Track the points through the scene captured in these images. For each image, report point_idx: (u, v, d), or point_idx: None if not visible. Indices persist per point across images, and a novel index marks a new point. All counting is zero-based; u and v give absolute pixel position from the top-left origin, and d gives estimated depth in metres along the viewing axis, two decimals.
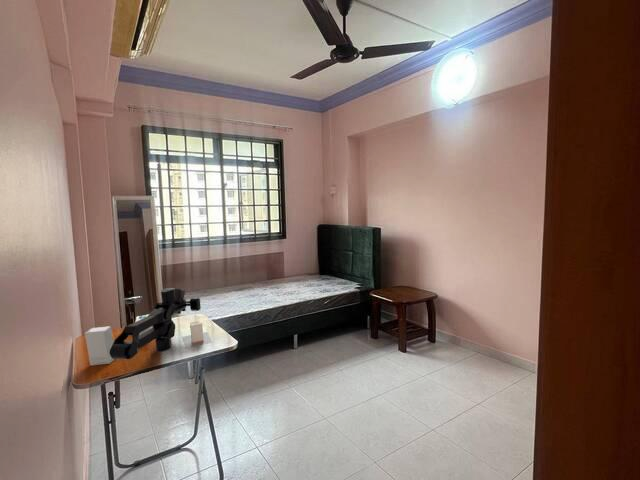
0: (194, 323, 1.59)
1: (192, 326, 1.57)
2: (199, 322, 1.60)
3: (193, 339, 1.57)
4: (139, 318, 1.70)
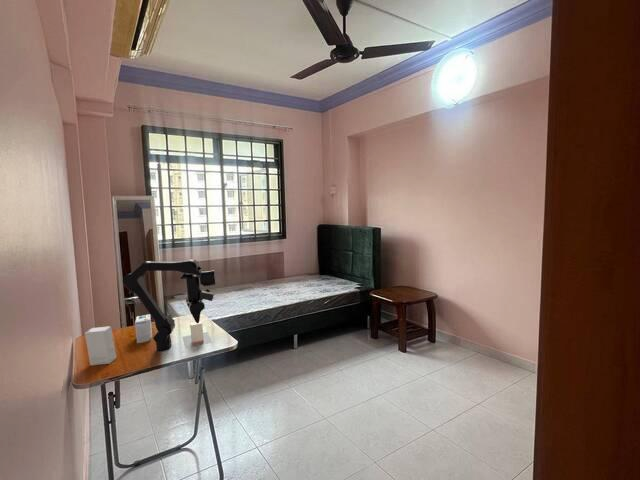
0: (194, 323, 1.59)
1: (192, 326, 1.57)
2: (199, 322, 1.60)
3: (193, 339, 1.57)
4: (139, 318, 1.70)
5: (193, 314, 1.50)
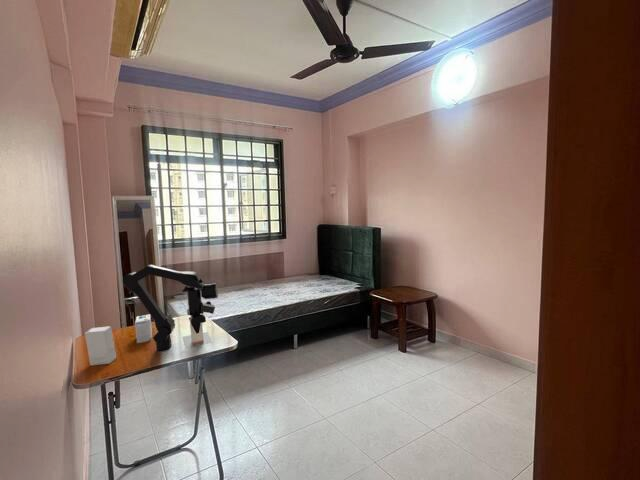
0: None
1: (192, 326, 1.57)
2: None
3: (193, 339, 1.57)
4: (139, 318, 1.70)
5: (193, 325, 1.53)
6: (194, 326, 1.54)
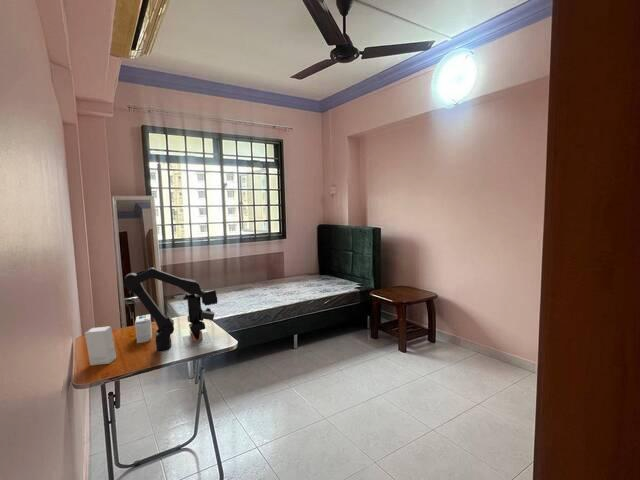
0: None
1: None
2: None
3: None
4: (139, 318, 1.70)
5: (193, 331, 1.57)
6: (194, 333, 1.58)
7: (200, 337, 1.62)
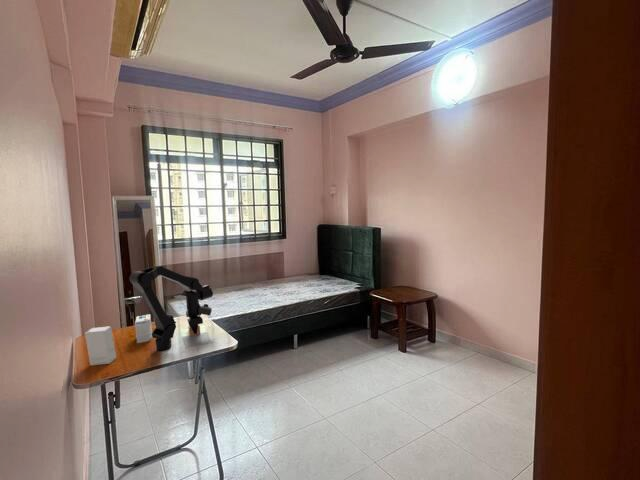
0: None
1: None
2: None
3: None
4: (139, 318, 1.70)
5: (191, 326, 1.65)
6: (192, 327, 1.65)
7: (198, 332, 1.70)
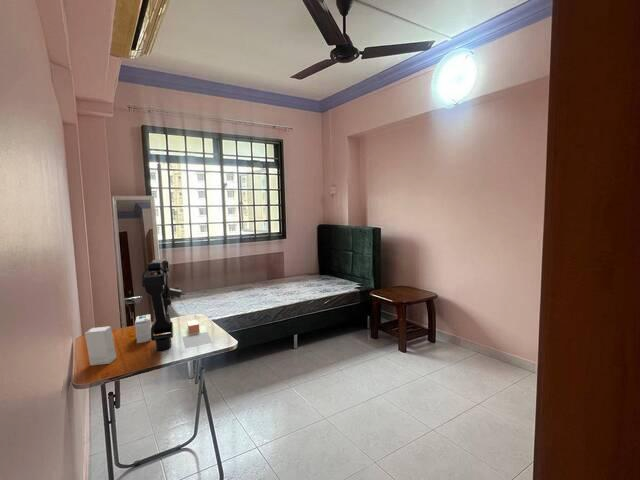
0: None
1: (188, 321, 1.78)
2: None
3: (189, 324, 1.73)
4: (139, 318, 1.70)
5: None
6: None
7: (197, 330, 1.72)
